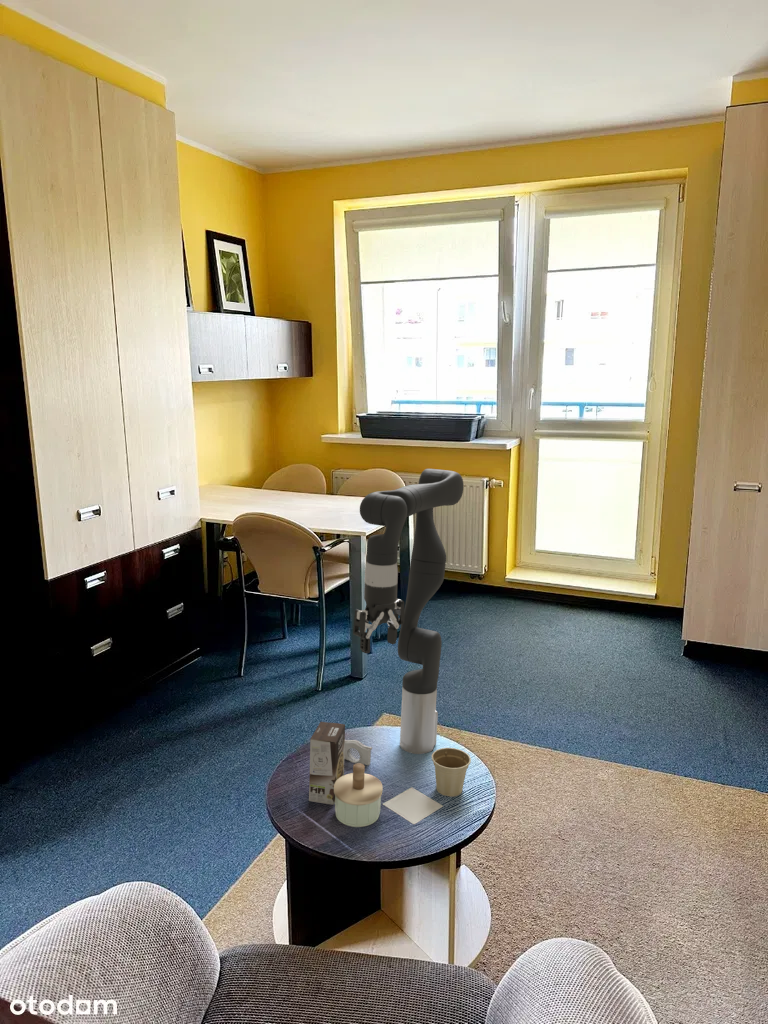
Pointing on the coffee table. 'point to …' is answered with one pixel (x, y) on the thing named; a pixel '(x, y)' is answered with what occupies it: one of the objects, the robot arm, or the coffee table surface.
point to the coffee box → (326, 761)
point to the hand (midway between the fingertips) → (378, 647)
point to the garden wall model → (362, 750)
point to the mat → (412, 805)
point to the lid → (358, 787)
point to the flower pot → (450, 770)
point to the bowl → (357, 813)
